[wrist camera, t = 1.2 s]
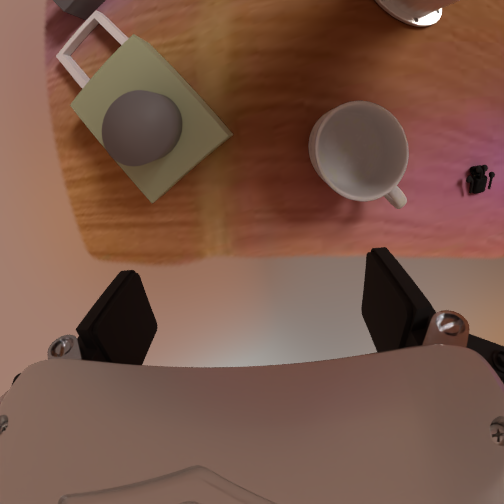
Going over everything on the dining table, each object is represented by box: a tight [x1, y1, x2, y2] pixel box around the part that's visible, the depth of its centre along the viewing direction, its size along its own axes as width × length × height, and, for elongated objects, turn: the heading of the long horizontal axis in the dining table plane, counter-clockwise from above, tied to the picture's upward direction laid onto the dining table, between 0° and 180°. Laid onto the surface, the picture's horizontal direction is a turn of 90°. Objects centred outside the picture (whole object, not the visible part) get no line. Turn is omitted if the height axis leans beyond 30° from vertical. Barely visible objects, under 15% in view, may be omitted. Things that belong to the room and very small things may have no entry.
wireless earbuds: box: [466, 165, 495, 194], centre depth 32 cm, size 7×2×5 cm
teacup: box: [308, 101, 409, 209], centre depth 29 cm, size 14×11×8 cm
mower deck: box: [56, 10, 233, 204], centre depth 26 cm, size 12×29×9 cm, turn 39°
